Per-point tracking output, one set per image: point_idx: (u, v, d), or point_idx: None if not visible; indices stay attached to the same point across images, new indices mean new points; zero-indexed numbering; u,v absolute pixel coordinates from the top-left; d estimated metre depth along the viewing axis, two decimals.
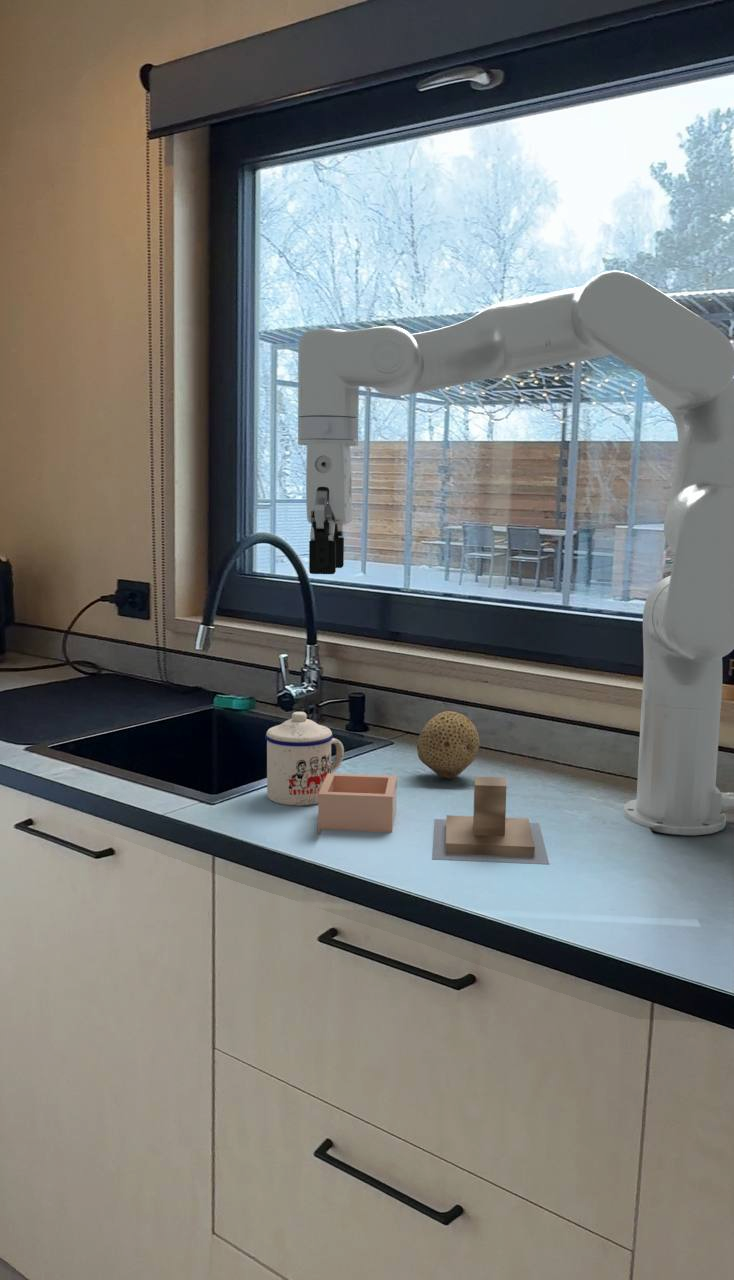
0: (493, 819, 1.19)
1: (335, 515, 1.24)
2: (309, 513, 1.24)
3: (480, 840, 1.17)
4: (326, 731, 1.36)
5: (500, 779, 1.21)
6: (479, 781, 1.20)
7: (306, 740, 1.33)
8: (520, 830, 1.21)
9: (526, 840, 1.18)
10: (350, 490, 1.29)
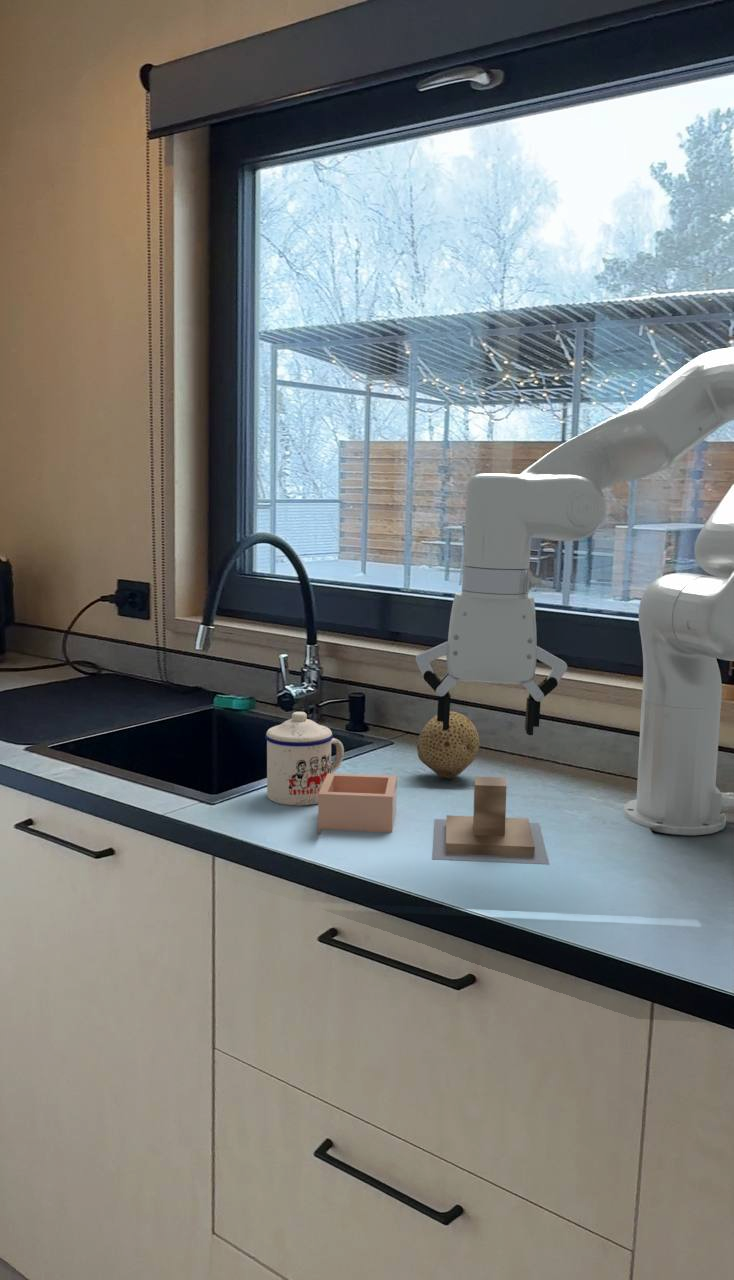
0: (493, 819, 1.19)
1: None
2: (534, 672, 1.16)
3: (480, 840, 1.17)
4: (326, 731, 1.36)
5: (500, 779, 1.21)
6: (479, 781, 1.20)
7: (306, 740, 1.33)
8: (520, 830, 1.21)
9: (526, 840, 1.18)
10: None
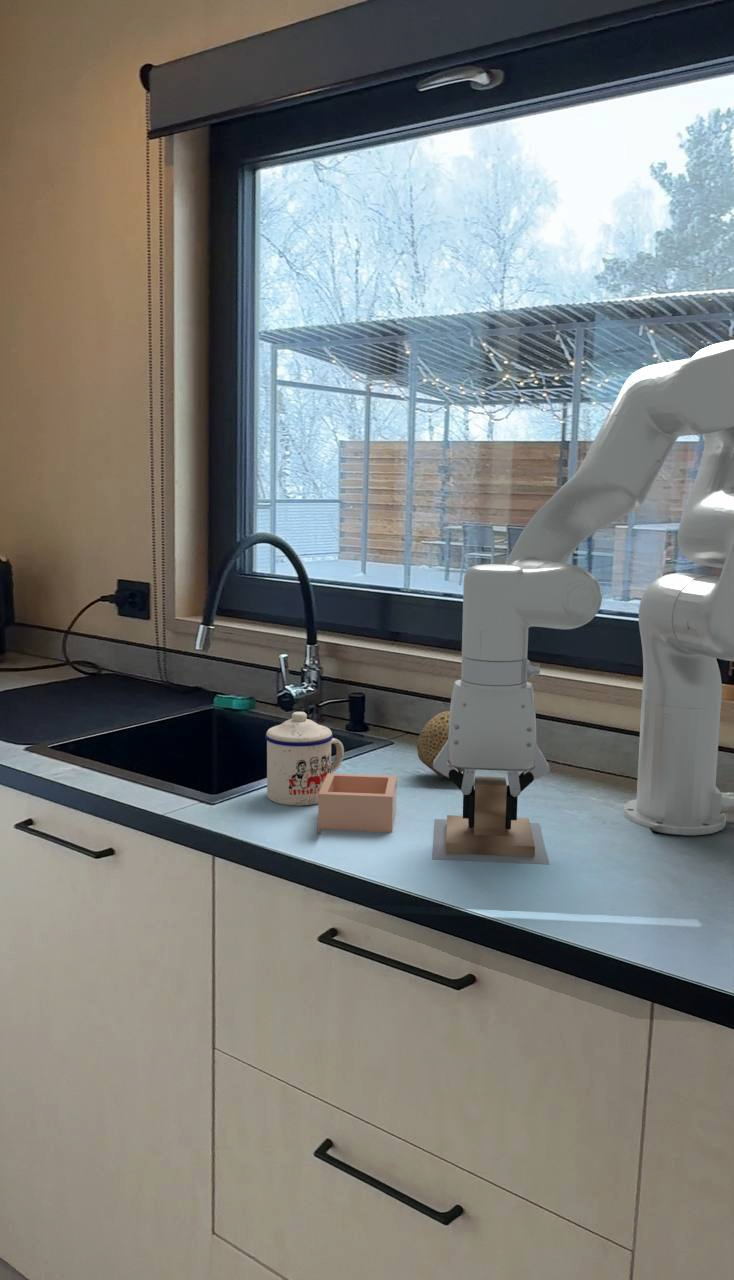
0: (494, 819, 1.19)
1: None
2: (534, 759, 1.17)
3: (480, 839, 1.17)
4: (326, 731, 1.36)
5: (501, 778, 1.21)
6: (479, 781, 1.20)
7: (306, 740, 1.33)
8: (520, 830, 1.21)
9: (526, 839, 1.18)
10: None
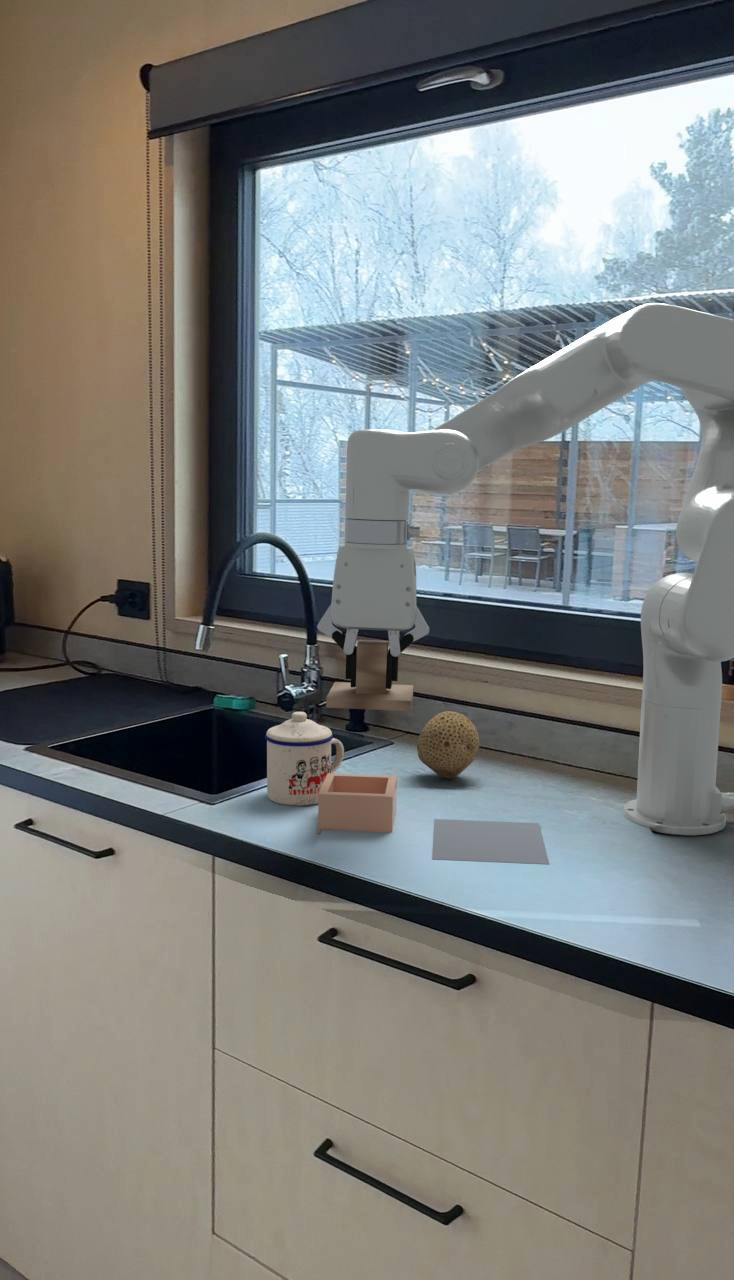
0: (374, 678, 1.22)
1: None
2: (413, 619, 1.21)
3: (360, 696, 1.21)
4: (326, 731, 1.36)
5: (384, 641, 1.25)
6: (362, 642, 1.24)
7: (306, 740, 1.33)
8: (401, 691, 1.25)
9: (405, 697, 1.22)
10: None
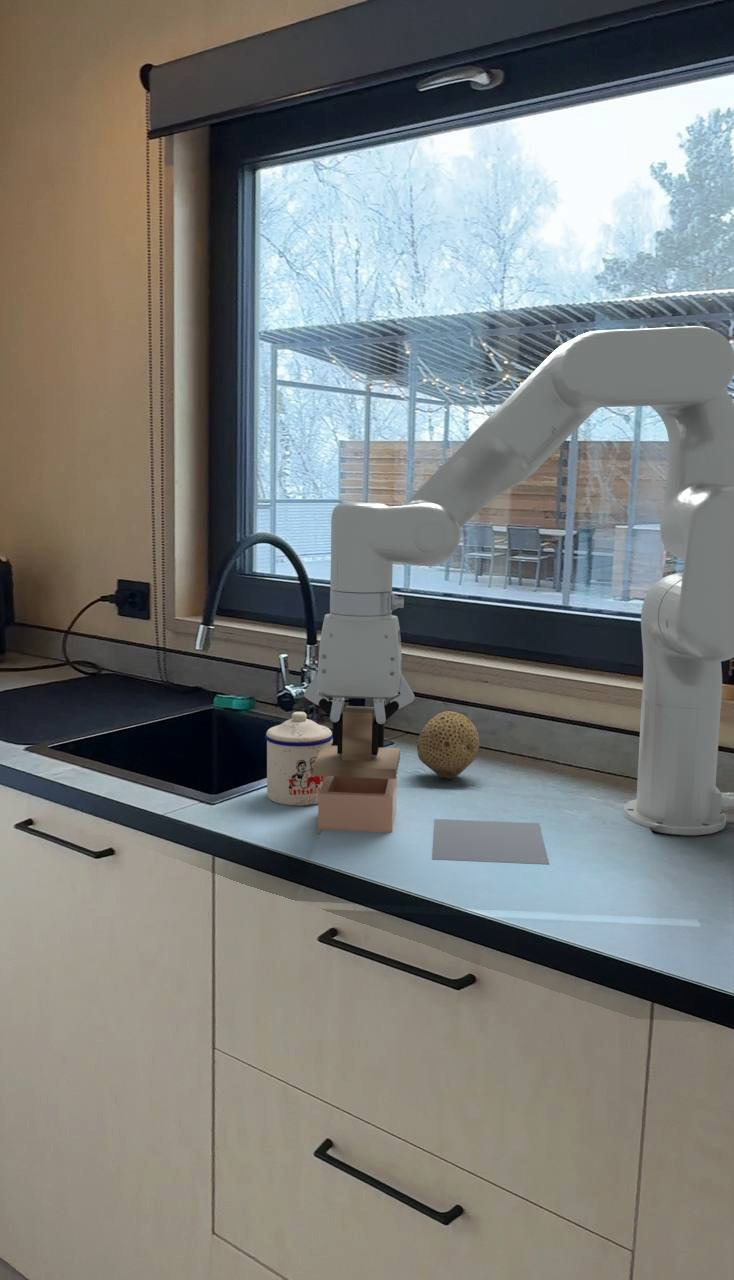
0: (360, 745, 1.25)
1: None
2: (398, 688, 1.23)
3: (346, 763, 1.23)
4: (326, 731, 1.36)
5: (370, 708, 1.27)
6: (348, 709, 1.26)
7: (306, 740, 1.33)
8: (388, 757, 1.27)
9: (390, 764, 1.24)
10: None
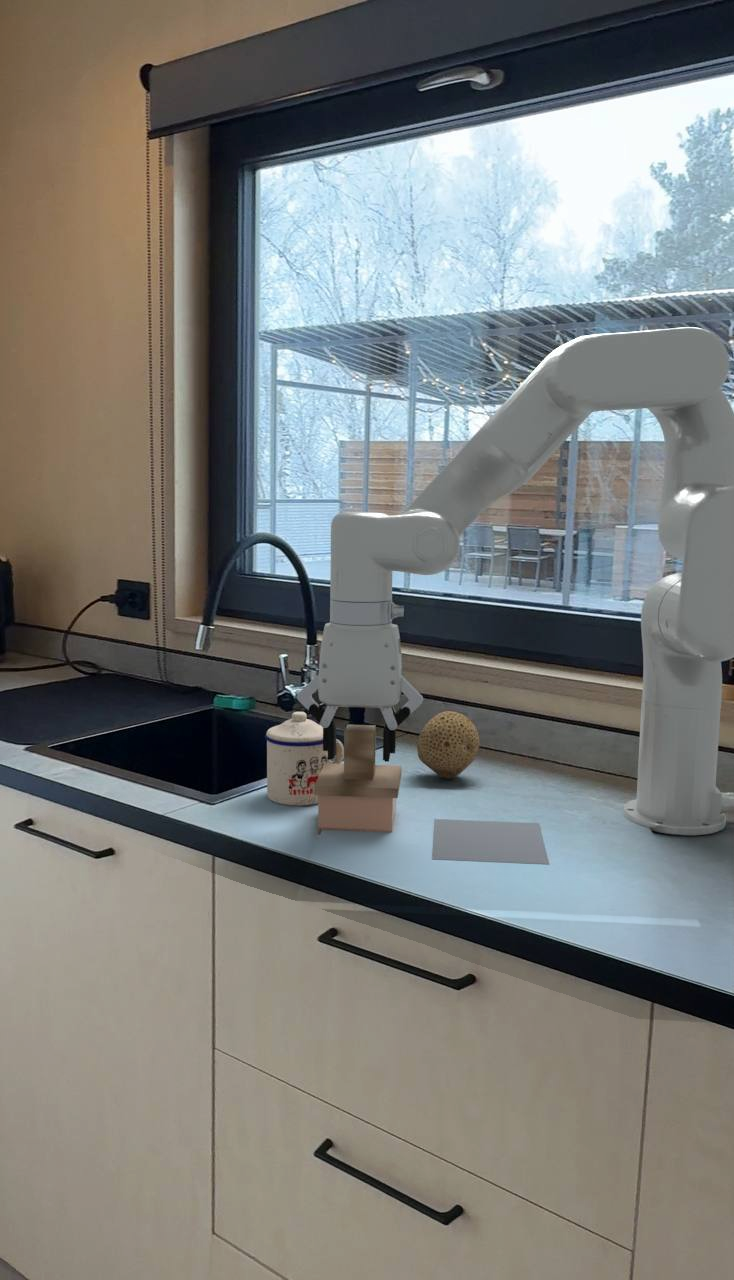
0: (362, 764, 1.25)
1: None
2: (398, 697, 1.24)
3: (348, 783, 1.24)
4: None
5: (371, 726, 1.27)
6: (350, 728, 1.26)
7: (306, 740, 1.33)
8: (389, 775, 1.27)
9: (392, 783, 1.24)
10: None
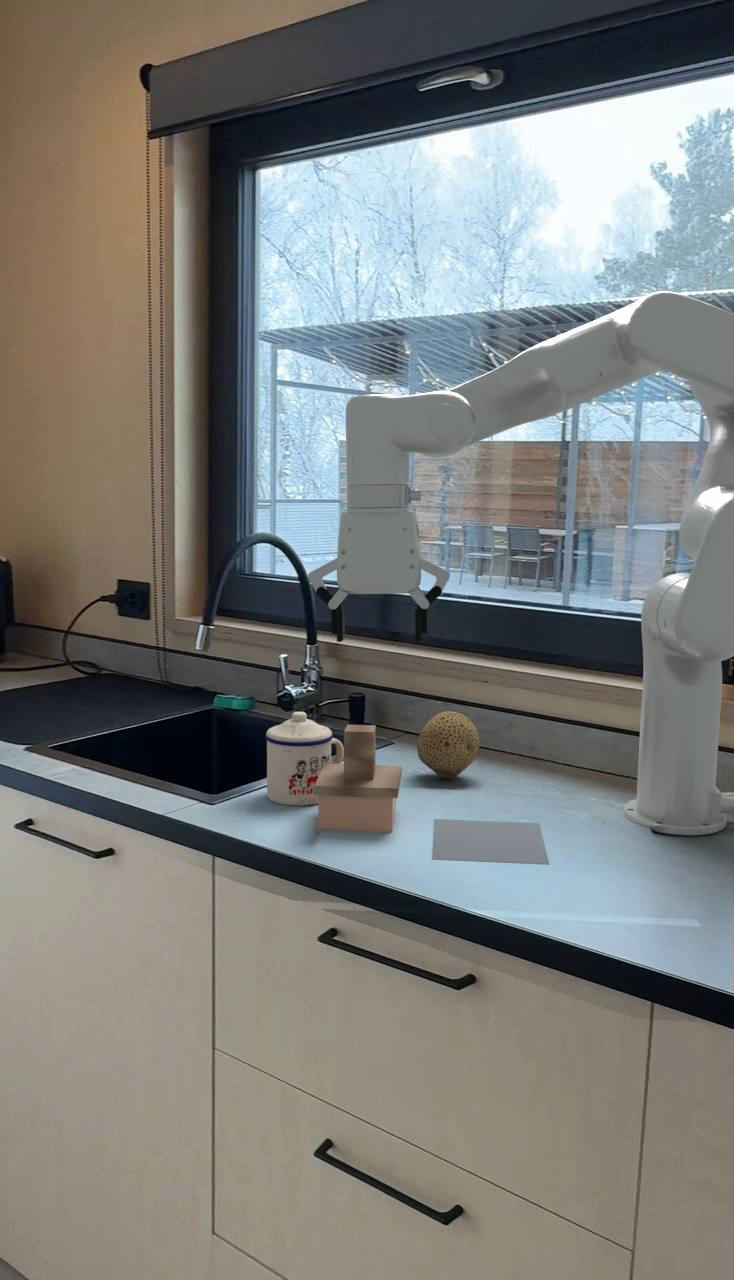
0: (362, 764, 1.25)
1: (420, 581, 1.26)
2: (418, 581, 1.23)
3: (348, 783, 1.24)
4: (326, 731, 1.36)
5: (371, 726, 1.27)
6: (350, 728, 1.26)
7: (306, 740, 1.33)
8: (389, 775, 1.27)
9: (392, 783, 1.24)
10: None
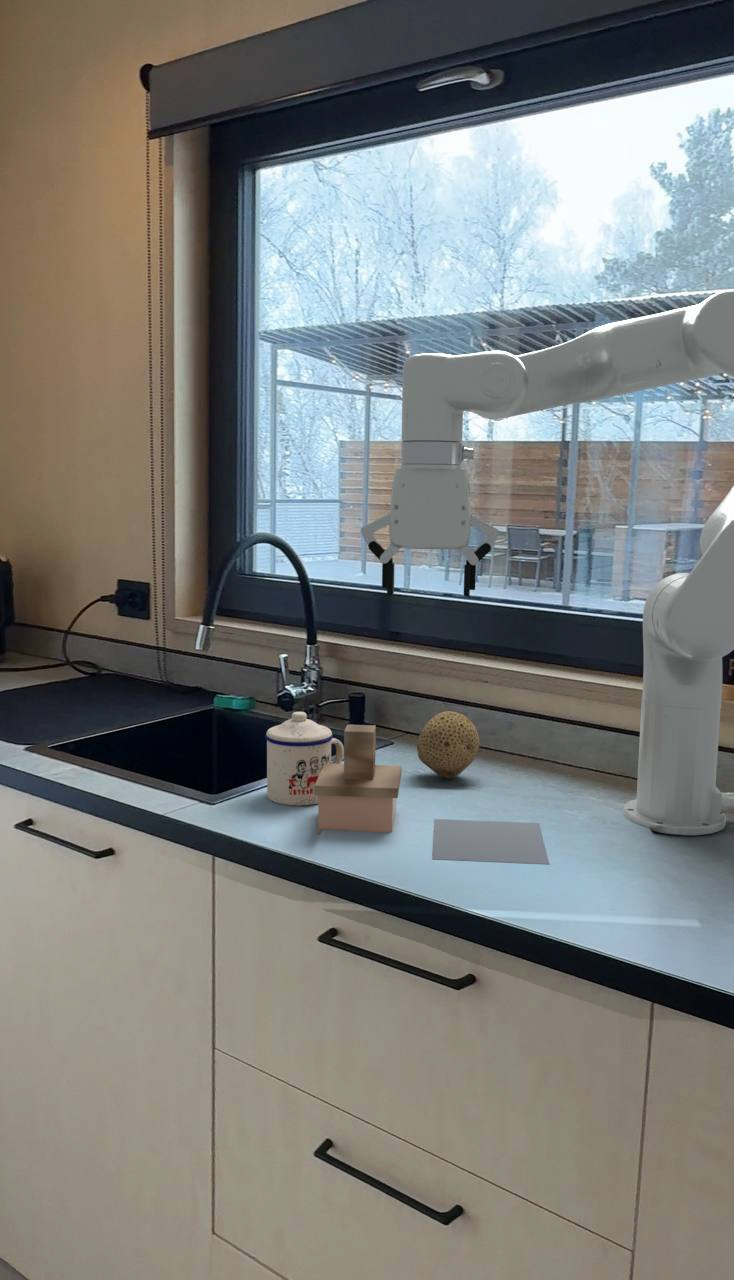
0: (362, 764, 1.25)
1: None
2: (469, 538, 1.26)
3: (348, 783, 1.24)
4: (326, 731, 1.36)
5: (371, 726, 1.27)
6: (350, 728, 1.26)
7: (306, 740, 1.33)
8: (389, 775, 1.27)
9: (392, 783, 1.24)
10: None
